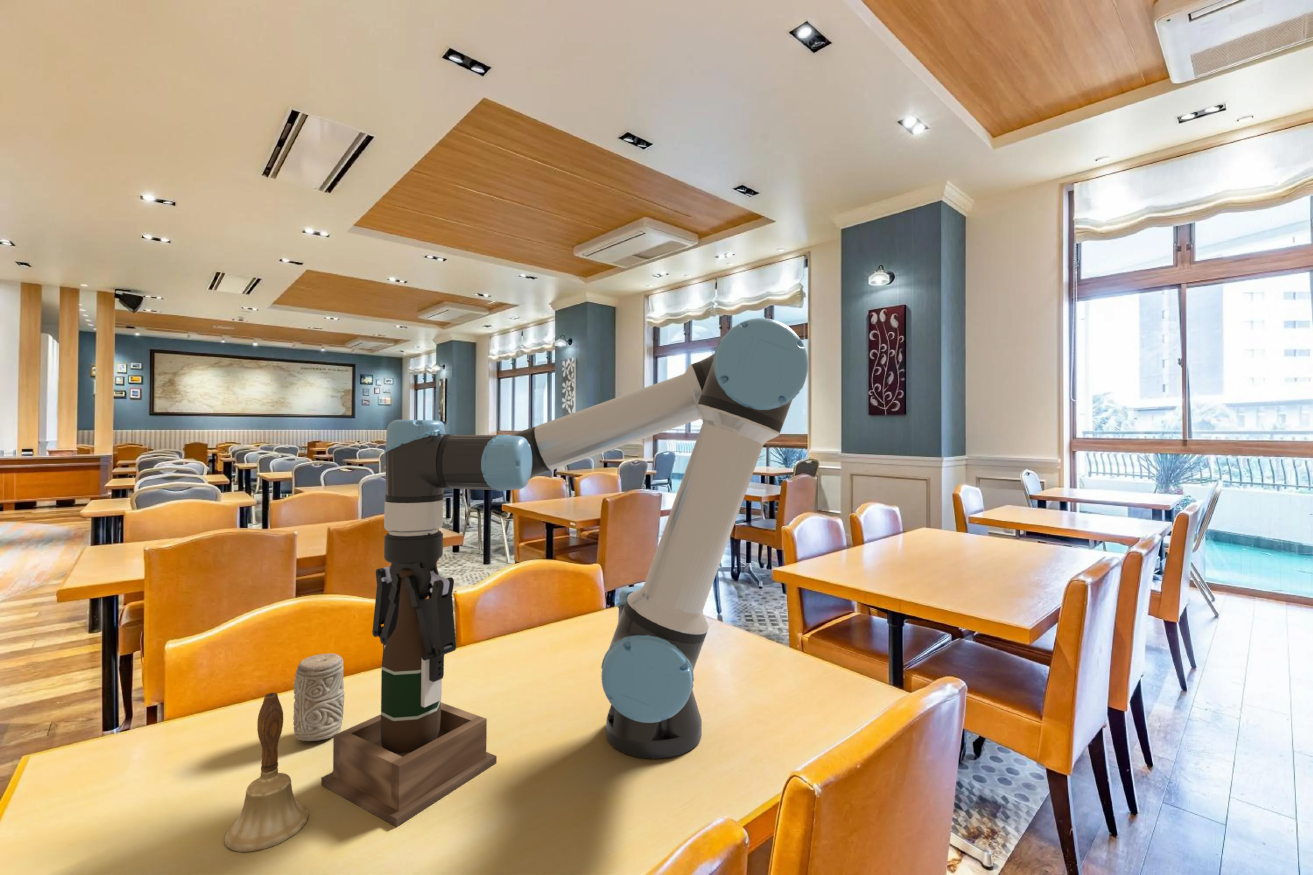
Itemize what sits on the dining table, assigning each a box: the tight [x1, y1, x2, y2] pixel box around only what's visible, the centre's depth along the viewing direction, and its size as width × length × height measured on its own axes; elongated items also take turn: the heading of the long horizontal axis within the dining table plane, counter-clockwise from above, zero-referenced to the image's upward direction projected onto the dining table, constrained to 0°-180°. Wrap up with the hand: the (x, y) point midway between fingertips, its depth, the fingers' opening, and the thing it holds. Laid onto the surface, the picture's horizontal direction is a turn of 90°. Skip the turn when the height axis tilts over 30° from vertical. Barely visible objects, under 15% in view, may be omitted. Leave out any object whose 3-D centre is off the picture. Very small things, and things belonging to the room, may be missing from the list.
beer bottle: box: [380, 568, 442, 754], centre depth 80 cm, size 8×8×24 cm
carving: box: [292, 652, 345, 742], centre depth 90 cm, size 6×8×12 cm
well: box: [320, 701, 497, 828], centre depth 80 cm, size 16×16×6 cm
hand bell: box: [224, 692, 309, 853], centre depth 69 cm, size 8×8×16 cm
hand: (412, 695), depth 80 cm, fingers closed on beer bottle, 7 cm apart
